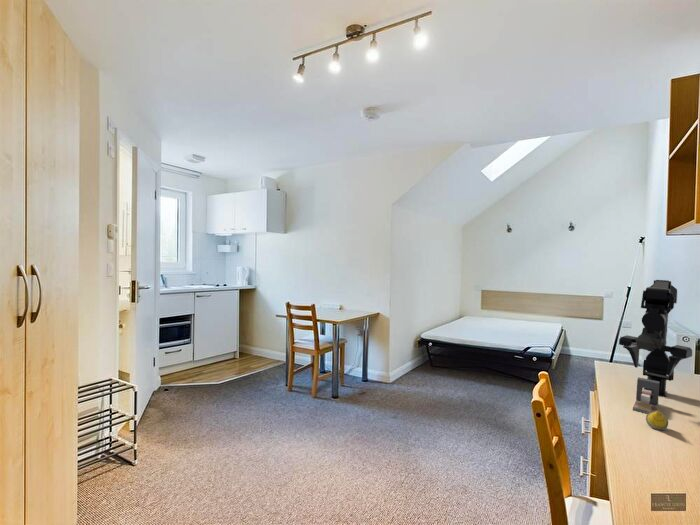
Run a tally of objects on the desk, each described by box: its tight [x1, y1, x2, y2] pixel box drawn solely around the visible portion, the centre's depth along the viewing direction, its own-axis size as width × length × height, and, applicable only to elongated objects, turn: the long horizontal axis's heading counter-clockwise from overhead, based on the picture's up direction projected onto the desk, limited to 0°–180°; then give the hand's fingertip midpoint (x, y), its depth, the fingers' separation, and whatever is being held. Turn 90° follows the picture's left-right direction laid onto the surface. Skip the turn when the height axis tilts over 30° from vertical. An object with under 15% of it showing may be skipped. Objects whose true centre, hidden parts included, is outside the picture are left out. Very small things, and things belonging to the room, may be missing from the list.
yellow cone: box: [645, 410, 669, 431], centre depth 117 cm, size 5×5×10 cm
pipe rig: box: [632, 388, 659, 415], centre depth 134 cm, size 14×6×5 cm, turn 138°
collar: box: [635, 377, 660, 405], centre depth 136 cm, size 3×6×7 cm, turn 48°
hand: (652, 371), depth 130 cm, fingers open, 9 cm apart
